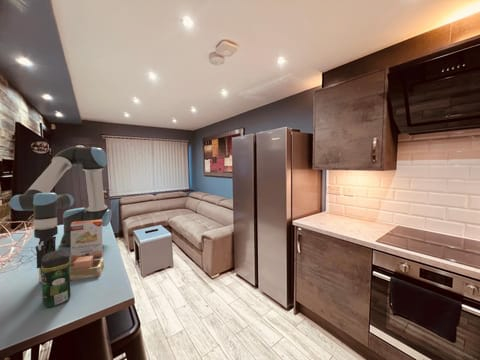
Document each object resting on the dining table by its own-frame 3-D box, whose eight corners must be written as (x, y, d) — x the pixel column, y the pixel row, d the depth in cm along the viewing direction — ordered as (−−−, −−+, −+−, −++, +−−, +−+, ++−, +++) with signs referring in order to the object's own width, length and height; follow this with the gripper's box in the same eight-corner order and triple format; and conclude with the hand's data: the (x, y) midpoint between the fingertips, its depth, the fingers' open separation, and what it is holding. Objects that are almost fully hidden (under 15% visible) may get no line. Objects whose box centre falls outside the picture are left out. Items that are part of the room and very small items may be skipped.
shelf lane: (66, 271, 97) (66, 263, 97) (104, 265, 103) (103, 258, 103) (58, 282, 87) (58, 273, 87) (99, 275, 94) (99, 267, 94)
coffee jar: (41, 299, 76) (39, 252, 75) (68, 290, 82) (67, 246, 81) (43, 311, 70) (42, 260, 69) (72, 301, 76) (71, 253, 75)
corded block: (44, 276, 92) (44, 255, 91) (93, 269, 100) (93, 249, 99) (38, 283, 86) (37, 261, 86) (90, 274, 94) (90, 254, 94)
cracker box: (70, 262, 106) (69, 224, 105) (72, 258, 111) (71, 221, 110) (102, 256, 114) (102, 220, 113) (102, 253, 119) (102, 218, 118)
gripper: (44, 223, 95) (45, 270, 96) (23, 234, 79) (25, 290, 80) (64, 221, 98) (64, 267, 99) (48, 231, 82) (49, 286, 83)
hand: (47, 277), depth 90 cm, fingers open, 4 cm apart
